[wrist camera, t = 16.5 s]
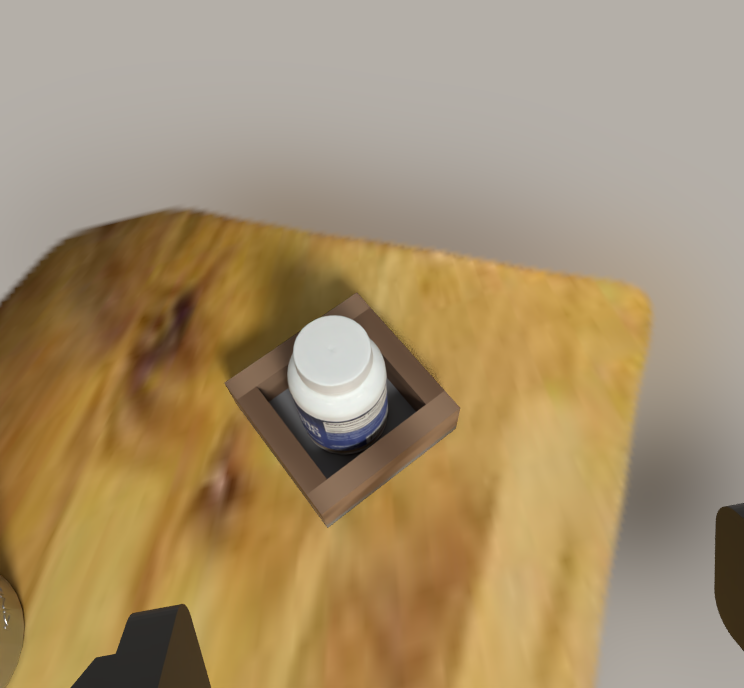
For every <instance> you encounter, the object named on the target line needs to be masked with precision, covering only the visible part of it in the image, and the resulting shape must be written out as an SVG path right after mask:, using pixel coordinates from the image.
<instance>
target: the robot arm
mask: <svg viewBox="0 0 744 688" xmlns="http://www.w3.org/2000/svg"><path fill="white" fill-rule="evenodd" d="M714 589H715V599H716V604H717V608H718V611H719V614H720V616H721V619H722V621H723V623H724V625H725V627H726V629H727V630H728V632H729V633H730V635H731V636H732V637H733V639H734V640H735V641H736V642H737V643H738V645H739V646H740V647H741V648H742V650H743V651H744V503H741V504H736V505H731V506H725V507H722V508H720V510H719V511H718V513H717V516H716V535H715V588H714ZM23 636H24V620H23V612H22V607H21V605H20V602H19V599H18V596H17V594H16V592H15V591H14V589H13V588H12V587H11V585H10V584H9V582H8V581H7V580H6V579H5V578H3V577H2V576H1V575H0V688H5V687H6V686H7V685H8V683H9V681H10V679H11V677H12V675H13V673H14V671H15V668H16V666H17V664H18V661H19V657H20V653H21V650H22V646H23ZM71 688H211V686H210V682H209V678H208V675H207V671H206V668H205V664H204V661H203V657H202V654H201V650H200V647H199V643H198V640H197V636H196V633H195V629H194V626H193V622H192V619H191V615H190V612H189V610H188V608H187V607H186V605H184V604H180V605H175V606H169V607H164V608H158V609H153V610H147V611H142V612H136V613H132V614H131V615H130V617H129V618H128V620H127V623H126V626H125V629H124V632H123V634H122V637H121V640H120V643H119V646H118V649H117V652H116V654H113V655H107V656H102V657H97V658H95V659H94V660H93V662H92V663H91V664H90V665H89V666H88V668H87V669H86V670H85V671H84V672H83V674H82V675H81V676H80V677H79V678H78V679H77V681H76V682H75V683H74V684H73V685H72V687H71Z"/></svg>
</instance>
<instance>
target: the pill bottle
mask: <svg viewBox="0 0 744 688" xmlns="http://www.w3.org/2000/svg"><path fill="white" fill-rule="evenodd" d="M287 378H288V385H289V390H290V393H291V395H292V398H293V400H294V403H295V405H296V408H297V410H298V413H299V415H300V418H301V421H302V423H303V425H304V427H305V430H306V432H307V433H308V435H309V437H310V438H311V439H312V441H313V442H314V443H315V444H316V445H318V446H319V447H320V448H322V449H324V450H325V451H328V452H330V453H334V454H341V455H347V454H354V453H358V452H360V451H363V450H365V449H367V448H368V447H370V446H371V445H372V444H373V443H375V442H376V441H377V439H378V438H379V437H380V436H381V434H382V432H383V430H384V428H385V425H386V422H387V416H388V401H387V375H386V367H385V362H384V359H383V356H382V354H381V352H380V350H379V348H378V347H377V346H376V344H375V343H374V342H373V341H372V340H371V339H370V338H369V337H368V335H367V333H366V331H365V330H364V329H363V327H362V326H361V325H359V324H358V323H357V322H355V321H354V320H352V319H350V318H347V317H344V316H337V315H331V316H324V317H320V318H318V319H315V320H313V321H312V322H310V323H309V324H307V325H306V326H305V327H304V328H303V329H302V330H301V331H300V333H299V334H298V336H297V338H296V340H295V343H294V347H293V354H292V356H291V358H290V361H289V365H288V371H287Z"/></svg>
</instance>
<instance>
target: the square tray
mask: <svg viewBox="0 0 744 688" xmlns="http://www.w3.org/2000/svg"><path fill="white" fill-rule="evenodd" d="M331 315H337V316H344V317H347V318H350V319H352V320H354V321H355V322H357V323H358V324H359V325H361V326H362V327H363V329H364V330H365V331H366V333H367V335H368V337H369V338H370V339H371V340H372V341H373V342H374V343H375V344H376V346H377V347H378V348H379V350H380V352H381V354H382V356H383V359H384V362H385V367H386V375H387V401H388V416H387V422H386V425H385V428H384V430H383V432H382V434H381V436H380V437H379V438H378V439H377V441H376V442H375V443H373V444H372V445H371V446H370V447H368V448H367V449H365V450H363V451H360V452H358V453H354V454H347V455H341V454H334V453H330V452H328V451H325V450H324V449H322V448H320V447H319V446H318V445H316V444H315V443H314V442H313V441H312V439H311V438H310V437H309V435H308V433H307V432H306V430H305V427H304V425H303V423H302V421H301V418H300V415H299V413H298V410H297V408H296V405H295V403H294V400H293V398H292V395H291V393H290V390H289V385H288V378H287V371H288V365H289V361H290V358H291V356H292V354H293V347H294V343H295V340H296V338H297V336H298V334H299V333H300V332H298V333H297V334H295V335H294V336H292V337H291V338H289V339H288V340H286V341H285V342H283V343H282V344H281V345H279V346H278V347H276V348H275V349H273V350H272V351H270V352H269V353H267V354H266V355H264V356H263V357H262V358H260V359H259V360H257V361H256V362H254V363H253V364H251V365H250V366H248V367H247V368H245V369H244V370H242V371H241V372H240V373H238V374H237V375H235V376H234V377H232V378H231V379H229V380H228V381H226V382H225V385H226V387H227V388H228V390H229V392H230V393H231V395H232V397H233V399H234V400H235V402H236V404H237V405H238V407H239V408H240V409H241V411H242V412H243V413H244V415H245V416H246V417H247V419H248V420H249V422H250V423H251V424H252V426H253V427H254V428H255V430H256V431H257V432H258V434H259V435H260V436H261V438H262V439H263V441H264V442H265V443H266V445H267V446H268V447H269V449H270V450H271V451H272V453H273V454H274V456H275V457H276V458H277V460H278V461H279V462H280V464H281V465H282V466H283V468H284V469H285V471H286V472H287V473H288V475H289V476H290V477H291V479H292V480H293V481H294V483H295V484H296V485H297V487H298V488H299V490H300V491H301V492H302V494H303V495H304V496H305V498H306V499H307V500H308V502H309V503H310V505H311V506H312V507H313V509H314V510H315V511H316V513H317V514H318V515H319V517H320V518H321V519H322V521H323V522H324V524H325V525H326V526H327V528H328V527H329V526H331V525H332V524H333V523H335V522H336V521H337V520H338V519H340V518H341V517H342V516H344V515H345V514H346V513H347V512H349V511H350V510H351V509H353V508H354V507H355V506H356V505H358V504H359V503H360V502H362V501H363V500H364V499H365V498H367V497H368V496H369V495H371V494H372V493H373V492H375V491H376V490H377V489H378V488H380V487H381V486H382V485H384V484H385V483H386V482H387V481H389V480H390V479H391V478H393V477H394V476H395V475H396V474H398V473H399V472H400V471H402V470H403V469H404V468H405V467H407V466H408V465H409V464H411V463H412V462H413V461H414V460H416V459H417V458H418V457H420V456H421V455H422V454H423V453H425V452H426V451H427V450H429V449H430V448H431V447H432V446H434V445H435V444H436V443H438V442H439V441H440V440H442V439H443V438H444V437H445V436H447V435H448V434H449V433H451V432H452V431H453V430H454V429H456V425H457V421H458V416H459V411H460V407H459V406H458V405H457V404H456V403H455V402H454V401H453V399H452V398H451V397H450V396H449V395H448V394H447V393H446V392H445V390H444V389H443V388H442V387H441V386H440V385H439V384H438V383H437V382H436V380H435V379H434V378H433V377H432V376H431V375H430V374H429V373H428V371H427V370H426V369H425V368H424V367H423V366H422V365H421V364H420V363H419V361H418V360H417V359H416V358H415V357H414V356H413V355H412V354H411V352H410V351H409V350H408V349H407V348H406V347H405V346H404V345H403V343H402V342H401V341H400V340H399V339H398V338H397V337H396V336H395V335H394V333H393V332H392V331H391V330H390V329H389V328H388V327H387V326H386V324H385V323H384V322H383V321H382V320H381V319H380V318H379V317H378V316H377V314H376V313H375V312H374V311H373V310H372V309H371V308H370V307H369V305H368V304H367V303H366V302H365V301H364V300H363V299H362V298H361V297H360V295H359V294H358V293H355V294H354V295H352V296H351V297H349V298H348V299H346V300H345V301H344V302H342V303H341V304H339V305H338V306H336V307H335V308H333V309H332V310H330V311H329V312H327V313H326V314H324V315H323V316H322V317H324V316H331Z"/></svg>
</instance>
